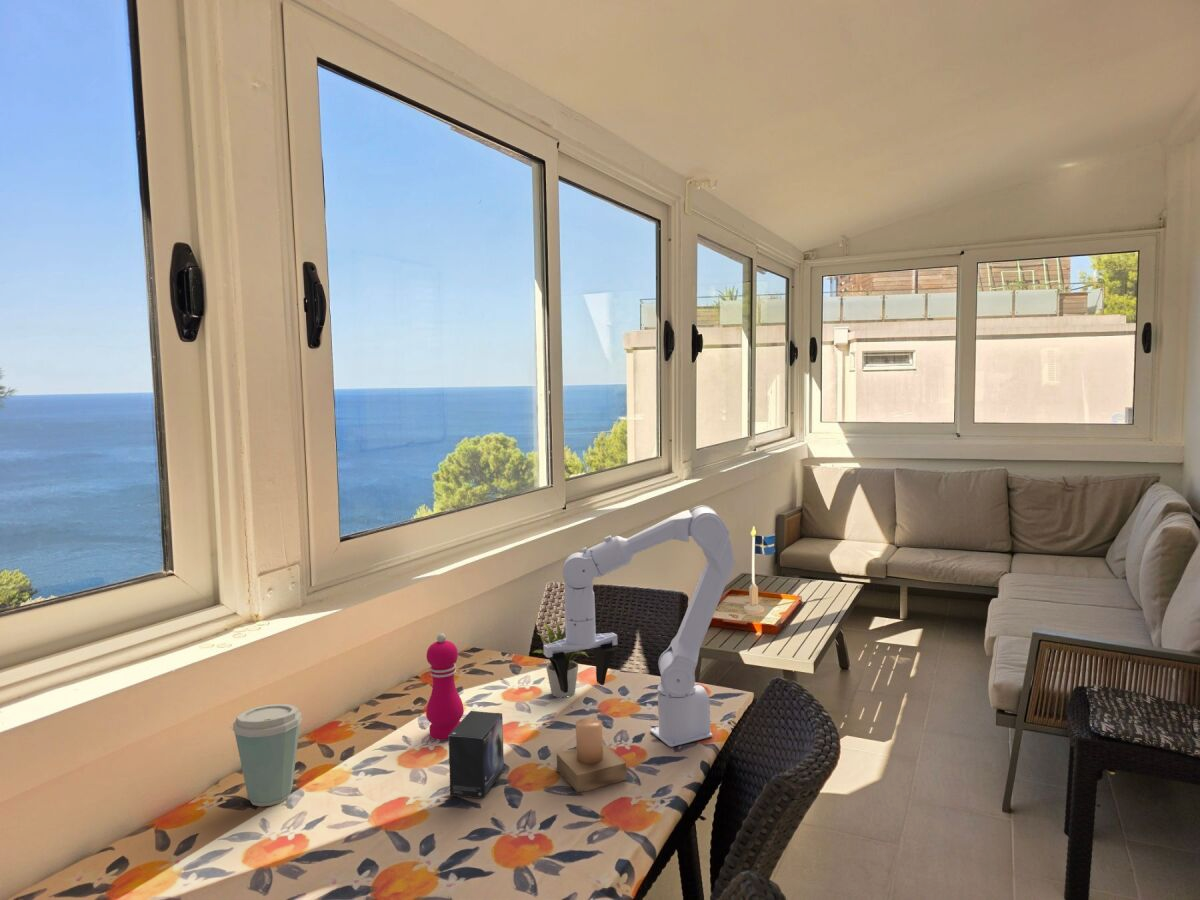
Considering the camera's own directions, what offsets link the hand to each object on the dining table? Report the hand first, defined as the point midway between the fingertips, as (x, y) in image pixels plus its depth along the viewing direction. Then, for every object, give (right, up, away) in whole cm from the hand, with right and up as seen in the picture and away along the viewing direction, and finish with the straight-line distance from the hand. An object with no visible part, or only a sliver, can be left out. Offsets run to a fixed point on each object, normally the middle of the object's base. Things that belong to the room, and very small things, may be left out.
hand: (582, 687), depth 150 cm
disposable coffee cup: (-51, -13, -18) cm, 56 cm away
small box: (-17, -12, -15) cm, 26 cm away
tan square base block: (+2, -11, -14) cm, 18 cm away
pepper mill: (-27, -11, +4) cm, 29 cm away
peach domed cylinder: (+2, -8, -14) cm, 16 cm away
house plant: (-4, -9, +22) cm, 24 cm away
